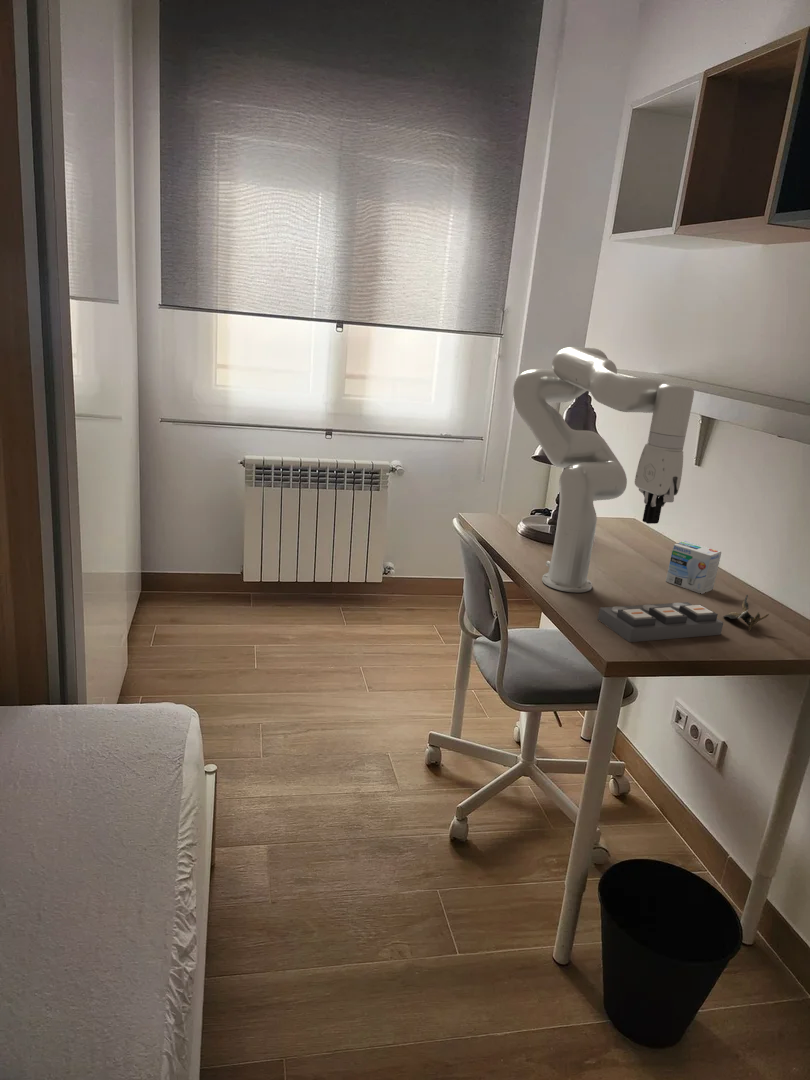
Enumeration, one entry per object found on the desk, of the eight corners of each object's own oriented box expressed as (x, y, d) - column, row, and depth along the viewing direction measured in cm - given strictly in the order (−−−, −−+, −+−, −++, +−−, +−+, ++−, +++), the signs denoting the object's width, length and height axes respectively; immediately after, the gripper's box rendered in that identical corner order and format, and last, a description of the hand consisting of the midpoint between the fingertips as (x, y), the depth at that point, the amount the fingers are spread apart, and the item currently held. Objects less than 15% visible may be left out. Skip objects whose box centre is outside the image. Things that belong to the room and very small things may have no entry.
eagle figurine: (772, 626, 181) (749, 605, 188) (767, 605, 177) (743, 584, 184) (742, 641, 181) (720, 619, 188) (736, 620, 177) (714, 599, 185)
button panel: (597, 619, 177) (600, 601, 176) (685, 613, 186) (689, 595, 185) (629, 642, 167) (633, 622, 165) (720, 634, 176) (725, 615, 174)
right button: (683, 612, 178) (684, 605, 177) (698, 611, 180) (700, 604, 179) (696, 620, 174) (697, 612, 174) (711, 619, 176) (713, 611, 175)
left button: (621, 616, 172) (622, 609, 171) (637, 615, 173) (639, 608, 173) (633, 624, 168) (635, 617, 167) (650, 623, 169) (651, 616, 169)
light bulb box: (664, 581, 208) (672, 543, 205) (676, 577, 213) (684, 540, 210) (702, 594, 201) (711, 555, 198) (713, 589, 206) (722, 551, 202)
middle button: (652, 615, 175) (654, 607, 174) (668, 614, 176) (670, 606, 176) (665, 623, 171) (667, 615, 170) (681, 621, 173) (683, 614, 172)
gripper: (630, 434, 174) (616, 513, 179) (674, 448, 160) (657, 532, 166) (658, 435, 176) (643, 513, 182) (703, 448, 163) (686, 532, 169)
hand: (650, 522), depth 174 cm, fingers closed
